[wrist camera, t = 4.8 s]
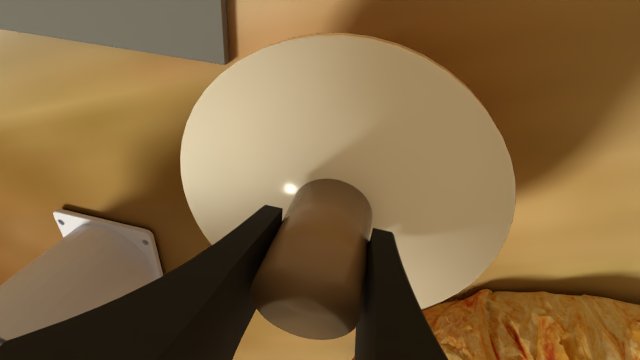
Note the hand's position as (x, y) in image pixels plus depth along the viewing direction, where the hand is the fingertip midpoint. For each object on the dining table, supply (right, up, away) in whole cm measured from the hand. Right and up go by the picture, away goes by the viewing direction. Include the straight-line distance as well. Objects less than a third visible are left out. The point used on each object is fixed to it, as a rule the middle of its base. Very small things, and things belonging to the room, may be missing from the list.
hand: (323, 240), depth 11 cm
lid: (0, +1, +2) cm, 2 cm away
